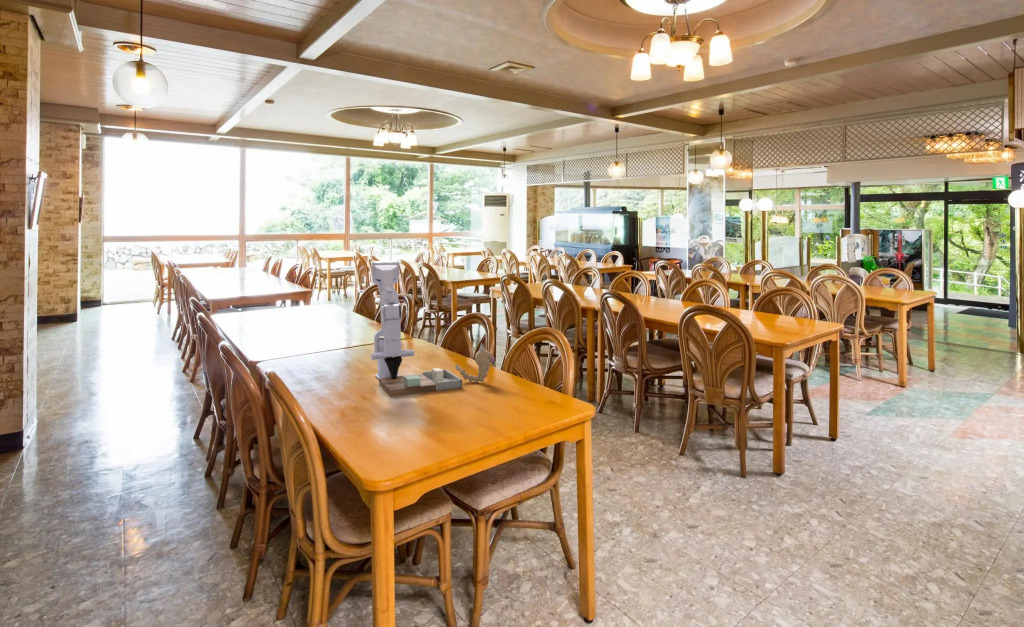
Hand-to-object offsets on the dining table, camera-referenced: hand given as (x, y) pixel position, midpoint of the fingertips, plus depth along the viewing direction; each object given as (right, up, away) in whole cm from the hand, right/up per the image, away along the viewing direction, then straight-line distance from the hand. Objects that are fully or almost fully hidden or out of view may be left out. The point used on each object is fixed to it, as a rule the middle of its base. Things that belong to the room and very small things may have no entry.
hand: (393, 378), depth 199 cm
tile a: (+12, -1, +14) cm, 18 cm away
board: (+3, -4, +8) cm, 9 cm away
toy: (+27, -3, +15) cm, 31 cm away
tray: (+15, -3, +13) cm, 20 cm away
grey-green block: (+6, -2, +3) cm, 7 cm away
